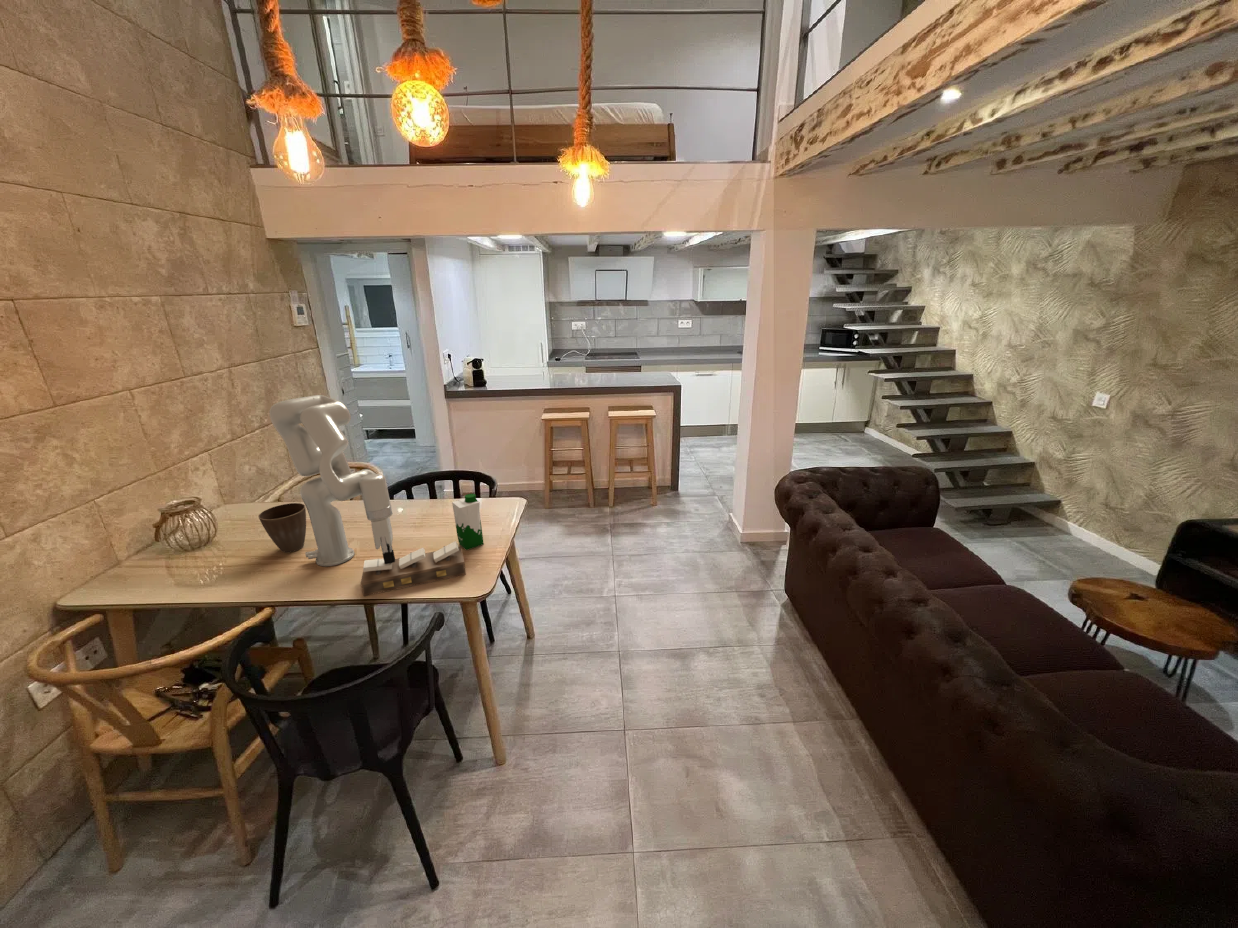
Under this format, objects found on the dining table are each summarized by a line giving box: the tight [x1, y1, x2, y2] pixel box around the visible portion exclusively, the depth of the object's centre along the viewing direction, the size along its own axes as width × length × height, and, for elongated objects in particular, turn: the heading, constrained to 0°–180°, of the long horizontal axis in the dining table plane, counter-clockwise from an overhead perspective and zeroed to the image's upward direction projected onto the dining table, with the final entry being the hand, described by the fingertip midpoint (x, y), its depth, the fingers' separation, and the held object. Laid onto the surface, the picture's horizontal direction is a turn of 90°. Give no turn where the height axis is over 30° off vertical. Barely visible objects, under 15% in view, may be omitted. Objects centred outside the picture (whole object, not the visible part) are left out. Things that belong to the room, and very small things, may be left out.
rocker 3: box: [433, 540, 459, 562], centre depth 169 cm, size 8×5×2 cm, turn 112°
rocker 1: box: [362, 558, 392, 573], centre depth 161 cm, size 8×5×2 cm, turn 112°
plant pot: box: [257, 502, 307, 554], centre depth 186 cm, size 15×15×16 cm
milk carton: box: [451, 493, 485, 551], centre depth 185 cm, size 9×9×20 cm
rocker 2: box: [399, 547, 426, 569], centre depth 165 cm, size 8×5×2 cm, turn 112°
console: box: [360, 545, 467, 597], centre depth 166 cm, size 32×12×6 cm, turn 112°
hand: (390, 561), depth 162 cm, fingers closed
